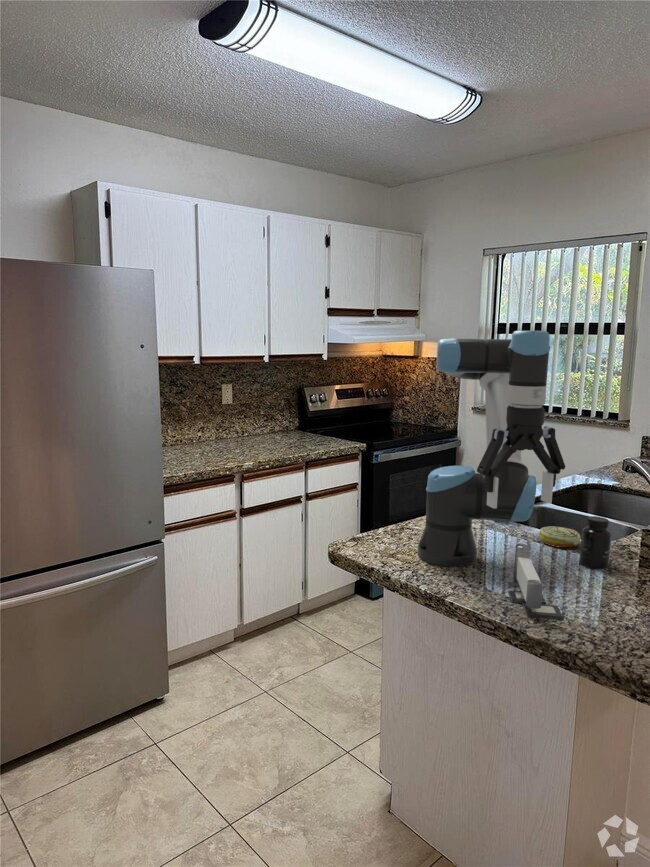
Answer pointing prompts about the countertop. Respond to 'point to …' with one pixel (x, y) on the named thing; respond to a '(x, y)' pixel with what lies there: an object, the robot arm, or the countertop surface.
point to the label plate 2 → (544, 611)
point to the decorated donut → (559, 536)
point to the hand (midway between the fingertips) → (519, 504)
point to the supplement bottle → (596, 543)
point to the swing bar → (529, 583)
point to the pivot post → (520, 551)
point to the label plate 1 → (520, 597)
